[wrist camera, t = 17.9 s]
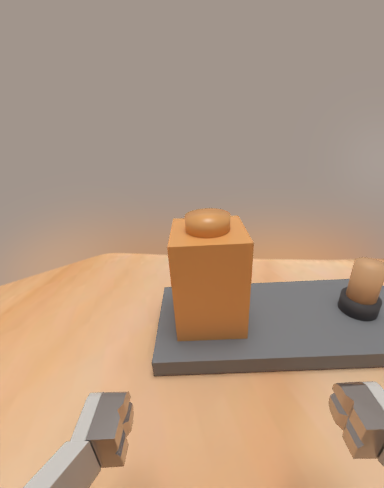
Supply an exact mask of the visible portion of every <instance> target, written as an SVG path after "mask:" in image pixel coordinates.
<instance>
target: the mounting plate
mask: <svg viewBox="0 0 384 488" xmlns="http://www.w3.org/2000/svg"><path fill="white" fill-rule="evenodd" d="M383 282H384V262H382V261H379V260H376V259H372V258H366V257H364V258H363V257H361V258H357V259H355V261H354V265H353V268H352V272H351V276H350V279H339V280H317V281H295V282H273V283H252V284H251V293H250V308H249V324H248V339H224V340H199V341H177V333H176V323H175V314H174V305H173V296H172V287H165V288H164V294H163V300H162V306H161V312H160V318H159V324H158V330H157V336H156V342H155V348H154V354H153V360H152V366H153V372H154V376H165V375H190V374H216V373H241V372H267V371H292V370H318V369H343V368H369V367H384V286H383Z"/></svg>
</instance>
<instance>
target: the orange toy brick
mask: <svg viewBox="0 0 384 488" xmlns="http://www.w3.org/2000/svg"><path fill="white" fill-rule="evenodd" d="M253 246H254V243H253V241H252V239H251V238H250V236H249V234H248V232H247V230H246V229H245V227H244V225H243V224H242V222H241V220H240V218H239V216H230V213H229V212H227V211H225V210H221V209H213V208H205V209H197V210H193V211H190V212H188V213H186V214H185V218H182V219H173V223H172V227H171V232H170V237H169V242H168V246H167V248H168V258H169V268H170V277H171V286H172V296H173V305H174V314H175V323H176V333H177V341H199V340H224V339H248V324H249V308H250V293H251V277H252V262H253Z"/></svg>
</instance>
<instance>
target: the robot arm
mask: <svg viewBox="0 0 384 488" xmlns="http://www.w3.org/2000/svg"><path fill="white" fill-rule="evenodd" d="M332 389H333V391H334V393H333V394H332V395H331V396H330V398H329V408H330V412H331V415H332V417H333V419H334V421H335V423H336V424H337V425H338V426H339V427H340V428H341V429H343V436H342V437H343V439H344V441H345V443H346V445H347V447H348V449H349V451H350V453H351V455H352V457H353V459H378V461H379V462H380V463H381V464H382V465H383V466H384V390H383V388H382V387H381V386H380V385H379V384H378V383H377V382H373V381H372V382H348V383H336V384H334V385H333V388H332ZM129 401H130V394H129V392H99V393H90V394H89V396H88V397H87V399H86V402H85V404H84V407H83V409H82V412H81V414H80V417H79V419H78V422H77V425H76V427H75V430H74V432H73V435H72V437H71V440H70V441H68V442H65V443H64V444H63V445H62V446H61V447H60V449H59V450H58V451H57V452H56V453H55V454H54V455H53V456H52V457H51V458H50V459H49V460H48V461H47V463H46V464H45V465H44V466H43V467H42V468H41V469H40V470H39V471H38V472H37V473H36V474H35V475H34V476H33V478H32V479H31V480H30V481H29V482H28V483H27V484H26V485H25V486H24V487H23V488H89V487H90V486H91V484H92V483H93V481H94V480H95V478H96V477H97V475H98V474H99V472H100V471H101V468H107V467H122V466H124V464H125V459H126V454H127V450H128V445H129V444H128V441H127V438H126V437H127V436H128V434H129V433H130V432H131V430H132V424H133V414H134V412H133V405H132V403H131V402H129Z"/></svg>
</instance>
